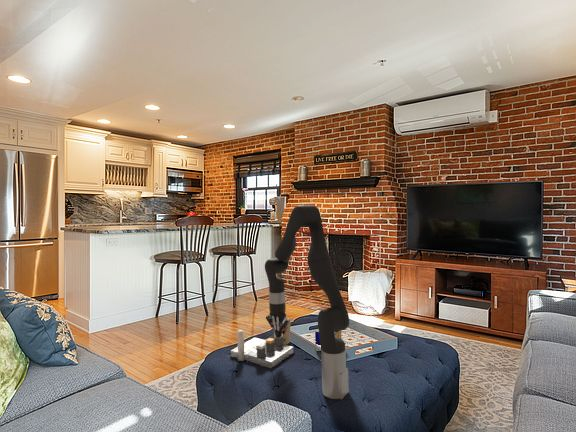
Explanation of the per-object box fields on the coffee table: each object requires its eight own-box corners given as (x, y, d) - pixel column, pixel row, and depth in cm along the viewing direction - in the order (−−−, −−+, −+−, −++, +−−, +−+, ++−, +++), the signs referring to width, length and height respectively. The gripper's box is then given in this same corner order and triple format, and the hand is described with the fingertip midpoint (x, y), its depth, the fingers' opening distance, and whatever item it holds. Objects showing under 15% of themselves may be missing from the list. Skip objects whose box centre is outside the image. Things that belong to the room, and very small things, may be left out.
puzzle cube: (315, 351, 179) (314, 331, 179) (323, 343, 188) (322, 324, 188) (334, 355, 175) (334, 334, 174) (342, 347, 183) (341, 327, 183)
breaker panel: (293, 352, 179) (293, 346, 178) (271, 368, 164) (271, 361, 164) (254, 343, 192) (254, 337, 192) (231, 356, 177) (230, 350, 177)
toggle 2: (275, 349, 175) (274, 338, 175) (271, 352, 173) (270, 341, 172) (269, 348, 177) (269, 337, 177) (265, 350, 174) (265, 340, 174)
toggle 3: (283, 344, 181) (283, 333, 181) (279, 346, 179) (279, 336, 178) (278, 343, 183) (277, 332, 182) (274, 345, 180) (274, 334, 180)
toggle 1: (266, 355, 169) (265, 344, 169) (262, 358, 167) (261, 346, 167) (260, 353, 171) (260, 342, 171) (256, 356, 169) (256, 345, 168)
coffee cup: (270, 344, 189) (269, 321, 188) (277, 337, 198) (276, 315, 197) (288, 346, 186) (287, 323, 185) (293, 339, 195) (292, 317, 194)
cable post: (247, 359, 173) (245, 330, 172) (242, 362, 170) (240, 332, 169) (241, 357, 175) (239, 329, 174) (236, 360, 172) (234, 331, 171)
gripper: (293, 300, 170) (294, 337, 171) (270, 296, 177) (271, 331, 179) (284, 305, 164) (285, 343, 165) (260, 301, 171) (262, 337, 172)
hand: (278, 337), depth 172 cm, fingers closed
